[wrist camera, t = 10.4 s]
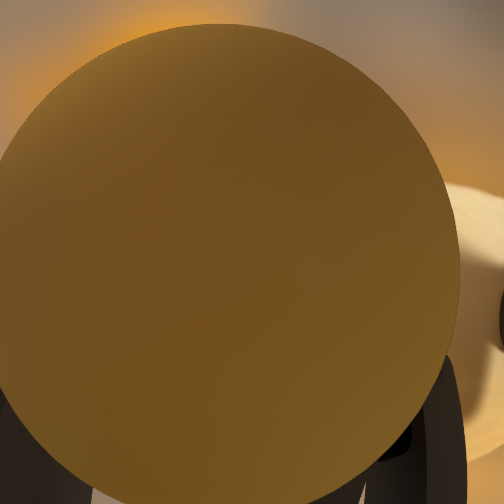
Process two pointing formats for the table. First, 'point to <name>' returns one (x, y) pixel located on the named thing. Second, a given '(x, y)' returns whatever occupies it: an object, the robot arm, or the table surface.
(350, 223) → the yellow capped peg
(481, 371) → the table surface
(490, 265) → the table surface
